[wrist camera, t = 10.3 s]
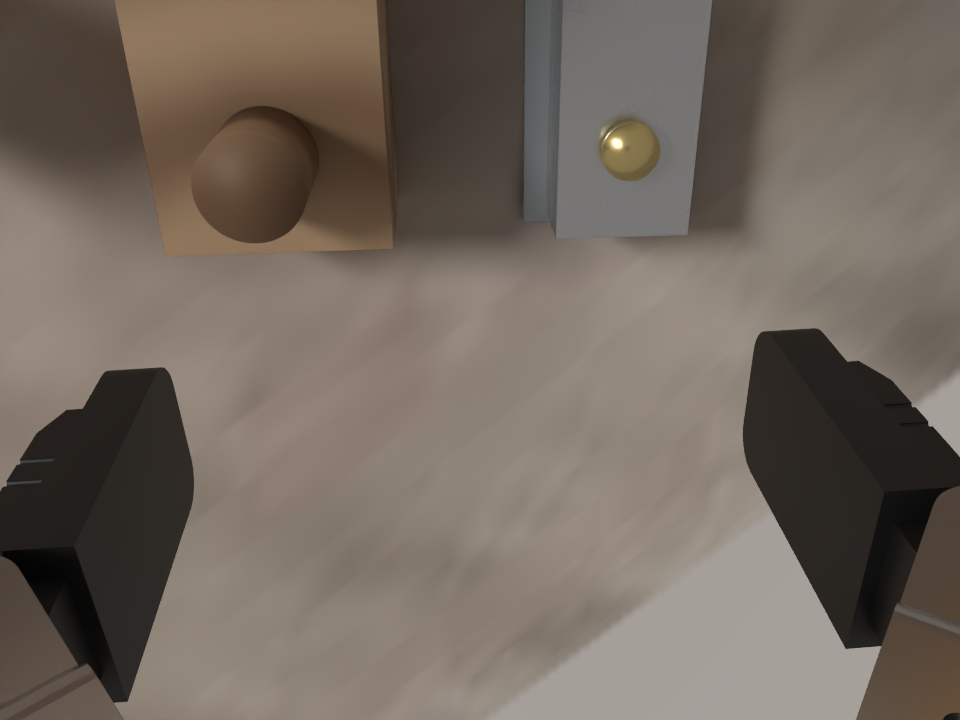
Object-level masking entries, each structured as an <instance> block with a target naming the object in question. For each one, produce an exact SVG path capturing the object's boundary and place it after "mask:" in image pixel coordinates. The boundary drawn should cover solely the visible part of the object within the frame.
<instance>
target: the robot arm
mask: <svg viewBox="0 0 960 720" xmlns="http://www.w3.org/2000/svg"><path fill="white" fill-rule="evenodd" d="M743 444H744V452H745V457H746V461H747V464H748V467H749V469H750V472H751V474H752V475H753V477H754V479H755V481H756V483H757V485H758V487H759V488H760V490H761V492H762V494H763V496H764V498H765V500H766V501H767V503H768V505H769V507H770V509H771V511H772V513H773V514H774V516H775V518H776V520H777V522H778V524H779V526H780V527H781V529H782V531H783V533H784V535H785V537H786V539H787V540H788V542H789V544H790V546H791V548H792V550H793V551H794V553H795V555H796V557H797V559H798V561H799V563H800V564H801V566H802V568H803V570H804V572H805V574H806V576H807V577H808V579H809V581H810V583H811V585H812V587H813V589H814V591H815V592H816V594H817V596H818V598H819V600H820V602H821V604H822V605H823V607H824V609H825V611H826V613H827V614H828V616H829V618H830V620H831V622H832V624H833V626H834V628H835V630H836V631H837V633H838V635H839V637H840V639H841V641H842V642H843V644H844V646H845V648H846V649H849V648H861V647H873V646H881V649H880V652H879V655H878V658H877V661H876V664H875V666H874V669H873V672H872V675H871V678H870V681H869V684H868V687H867V689H866V693H865V695H864V698H863V701H862V704H861V707H860V710H859V712H858V715H857V718H856V720H960V457H959V456H958V454H957V453H956V452H955V451H954V450H953V449H952V448H951V447H950V445H949V444H948V443H947V442H946V441H945V440H944V439H943V438H942V436H941V435H940V434H939V433H938V432H937V431H936V430H935V429H934V428H933V427H929V426H928V421H927V420H926V418H925V417H924V416H923V415H922V414H921V413H920V412H919V411H918V409H917V408H916V407H913V408H912V406H911V402H910V400H909V399H908V398H907V397H906V396H905V395H904V394H903V393H902V391H901V390H900V389H899V388H898V387H897V386H896V385H895V384H894V382H893V381H892V380H890V379H889V378H887V377H885V376H884V375H882V374H880V373H878V372H877V371H875V370H873V369H871V368H870V367H868V366H866V365H865V364H863V363H861V362H859V361H851V362H847V361H846V360H845V359H844V357H843V356H842V355H841V354H840V353H839V351H838V350H837V349H836V348H835V347H834V346H833V344H832V343H831V342H830V341H829V340H828V338H827V337H826V336H825V335H824V334H823V332H822V331H820V330H819V329H816V328H813V329H796V330H780V331H764V332H761V333H760V334H759V336H758V337H757V340H756V343H755V347H754V353H753V360H752V367H751V374H750V381H749V389H748V396H747V403H746V410H745V417H744V425H743ZM20 462H21V463H20V465H16V467H15V469H14V470H13V472H12V473H11V475H10V477H9V478H8V480H7V487H3V488H2V489H1V491H0V720H124V719H123V717H122V715H121V714H120V712H119V711H118V709H117V708H116V706H115V704H114V703H115V702H128V699H129V696H130V693H131V690H132V687H133V684H134V680H135V677H136V674H137V671H138V668H139V665H140V662H141V659H142V656H143V653H144V650H145V647H146V644H147V641H148V638H149V635H150V632H151V629H152V626H153V622H154V619H155V616H156V613H157V610H158V607H159V604H160V601H161V598H162V595H163V592H164V589H165V586H166V583H167V580H168V577H169V574H170V571H171V568H172V564H173V561H174V558H175V555H176V552H177V549H178V546H179V543H180V540H181V537H182V534H183V531H184V528H185V525H186V522H187V519H188V516H189V513H190V510H191V506H192V501H193V492H194V475H193V466H192V460H191V456H190V452H189V448H188V444H187V439H186V435H185V431H184V427H183V423H182V419H181V415H180V410H179V406H178V402H177V398H176V394H175V390H174V386H173V382H172V379H171V376H170V374H169V372H168V371H167V370H166V369H165V368H146V369H129V370H113V371H106V372H105V373H104V374H103V375H102V376H101V378H100V380H99V382H98V383H97V385H96V387H95V389H94V390H93V392H92V394H91V396H90V397H89V399H88V401H87V402H86V404H85V406H84V408H83V409H75V410H66V411H65V412H64V413H62V414H61V415H60V416H58V417H57V418H56V419H55V420H53V421H52V422H51V423H49V424H48V425H47V426H46V427H44V428H43V429H42V430H41V431H39V432H38V433H37V434H36V435H35V437H34V438H33V440H32V442H31V443H30V445H29V446H28V448H27V450H26V451H25V453H24V454H23V456H22V458H21V459H20Z"/></svg>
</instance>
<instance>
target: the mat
mask: <svg viewBox="0 0 960 720" xmlns="http://www.w3.org/2000/svg"><path fill="white" fill-rule="evenodd" d="M550 12H551V0H524V125H523V221H524V222H550V219H549V216H548V213H547V210H546V182H547V139H548V97H549V55H550Z"/></svg>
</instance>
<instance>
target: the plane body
mask: <svg viewBox="0 0 960 720" xmlns="http://www.w3.org/2000/svg"><path fill="white" fill-rule="evenodd" d="M114 1H115V6H116V11H117V16H118V21H119V26H120V31H121V36H122V41H123V46H124V51H125V56H126V61H127V66H128V71H129V76H130V81H131V86H132V90H133V95H134V100H135V105H136V110H137V115H138V120H139V125H140V130H141V135H142V140H143V145H144V150H145V155H146V160H147V165H148V170H149V175H150V180H151V185H152V190H153V195H154V200H155V205H156V210H157V214H158V219H159V224H160V229H161V234H162V239H163V244H164V249H165V254H166V256H192V255H222V254H252V253H283V252H313V251H343V250H373V249H393V246H394V235H395V225H396V215H397V204H398V183H397V167H396V152H395V136H394V120H393V104H392V88H391V72H390V57H389V41H388V25H387V9H386V0H114Z"/></svg>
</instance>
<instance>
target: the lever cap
mask: <svg viewBox="0 0 960 720" xmlns="http://www.w3.org/2000/svg"><path fill="white" fill-rule="evenodd" d="M711 8H712V0H551V12H550V55H549V97H548V139H547V182H546V210H547V213H548V216H549V219H550V222H551V225H552V228H553V231H554V234H555V238H556V239H572V238H605V237H638V236H671V235H688V225H689V216H690V207H691V197H692V188H693V178H694V169H695V159H696V150H697V140H698V131H699V122H700V112H701V103H702V93H703V84H704V74H705V65H706V56H707V46H708V37H709V27H710V18H711Z"/></svg>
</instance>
